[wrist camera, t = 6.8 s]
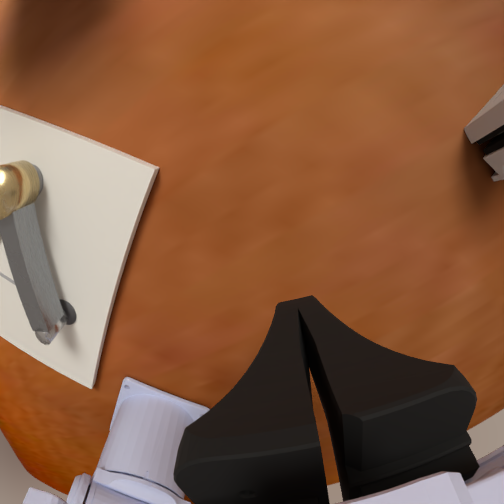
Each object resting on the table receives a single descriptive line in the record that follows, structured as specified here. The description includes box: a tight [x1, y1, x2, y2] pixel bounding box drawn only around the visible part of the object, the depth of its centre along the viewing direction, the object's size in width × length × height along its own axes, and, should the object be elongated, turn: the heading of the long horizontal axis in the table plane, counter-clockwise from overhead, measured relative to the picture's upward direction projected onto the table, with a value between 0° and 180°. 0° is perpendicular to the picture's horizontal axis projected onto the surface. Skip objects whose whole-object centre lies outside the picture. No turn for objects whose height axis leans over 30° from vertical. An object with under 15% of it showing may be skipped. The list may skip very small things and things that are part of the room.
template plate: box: [0, 105, 159, 389], centre depth 19 cm, size 20×17×2 cm
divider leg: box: [0, 160, 68, 345], centre depth 17 cm, size 12×3×3 cm, turn 4°
